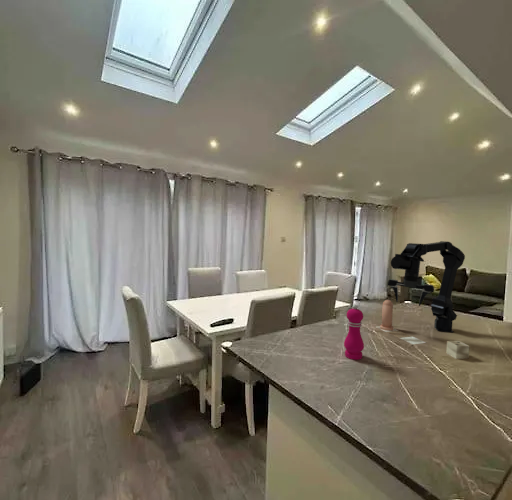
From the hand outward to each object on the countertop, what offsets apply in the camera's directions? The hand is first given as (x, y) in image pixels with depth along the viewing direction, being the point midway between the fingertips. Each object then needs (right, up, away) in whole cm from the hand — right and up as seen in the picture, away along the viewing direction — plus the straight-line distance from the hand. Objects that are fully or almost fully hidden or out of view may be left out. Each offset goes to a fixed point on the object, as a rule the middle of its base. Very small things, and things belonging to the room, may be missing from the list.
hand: (407, 303), depth 135 cm
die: (+8, -16, -22) cm, 28 cm away
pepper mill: (-33, -16, -24) cm, 44 cm away
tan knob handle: (-6, -14, +8) cm, 17 cm away
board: (-4, -15, +1) cm, 15 cm away
